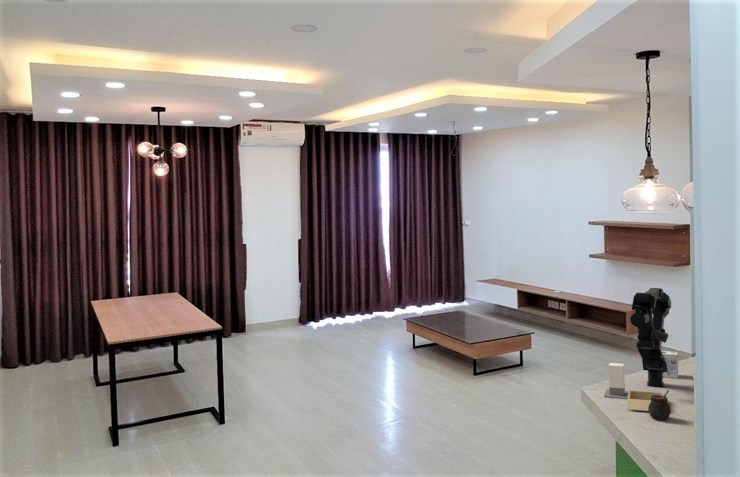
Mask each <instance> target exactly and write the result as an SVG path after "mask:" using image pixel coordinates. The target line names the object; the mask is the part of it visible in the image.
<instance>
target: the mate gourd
mask: <svg viewBox="0 0 740 477" xmlns="http://www.w3.org/2000/svg"><path fill="white" fill-rule="evenodd" d="M669 392H670V390H669V389H667V391H666V392H665V393H664V394H663V395H651V402H650V404H649V407H648V411H647V412H648V414H649V417H651V418H652V419H653V420H656V421H666V420H667V419H670V416H671V412H672V410H671V408H670V404H669V402H668V396H667V395H668V394H669Z"/></svg>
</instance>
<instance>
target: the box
mask: <svg viewBox="0 0 740 477" xmlns="http://www.w3.org/2000/svg"><path fill="white" fill-rule="evenodd" d="M608 381H609V382H608V383H609V384H608V386H609V389H608V390H609V392H610V395H620V396H624V394H625V391H626V388H625V386H626V385H625V364H624V363H617V362H609V364H608Z"/></svg>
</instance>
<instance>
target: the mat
mask: <svg viewBox="0 0 740 477" xmlns="http://www.w3.org/2000/svg"><path fill="white" fill-rule="evenodd" d="M628 393H629V390H625V394H624V396H620V395H610V392H609V389H605V392H604V396H603V397H604V398H613V399H621V400H622V399H623V400H627V398H628Z"/></svg>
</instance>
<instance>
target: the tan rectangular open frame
mask: <svg viewBox="0 0 740 477" xmlns="http://www.w3.org/2000/svg"><path fill="white" fill-rule="evenodd" d="M628 391H629V393H628V398H627V399H626V409H627V410H629V411H630V410H631V411H640V412H642V411H643V412H649V411H648V407H649V404H650V402H651V395H664V393H663V392H658V391H647V390H636V389H635V390H634V389H632V390H631V389H629V390H628Z"/></svg>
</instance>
